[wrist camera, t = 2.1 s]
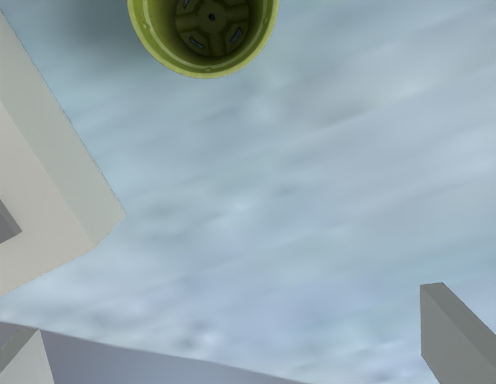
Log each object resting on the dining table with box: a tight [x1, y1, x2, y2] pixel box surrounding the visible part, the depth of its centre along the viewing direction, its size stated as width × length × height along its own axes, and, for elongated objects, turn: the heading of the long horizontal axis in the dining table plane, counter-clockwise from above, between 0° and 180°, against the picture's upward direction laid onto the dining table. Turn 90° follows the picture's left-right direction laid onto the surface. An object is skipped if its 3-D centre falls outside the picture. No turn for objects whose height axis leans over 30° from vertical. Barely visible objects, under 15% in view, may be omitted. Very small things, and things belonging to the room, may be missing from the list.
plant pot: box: [127, 0, 279, 79], centre depth 30 cm, size 9×9×9 cm
